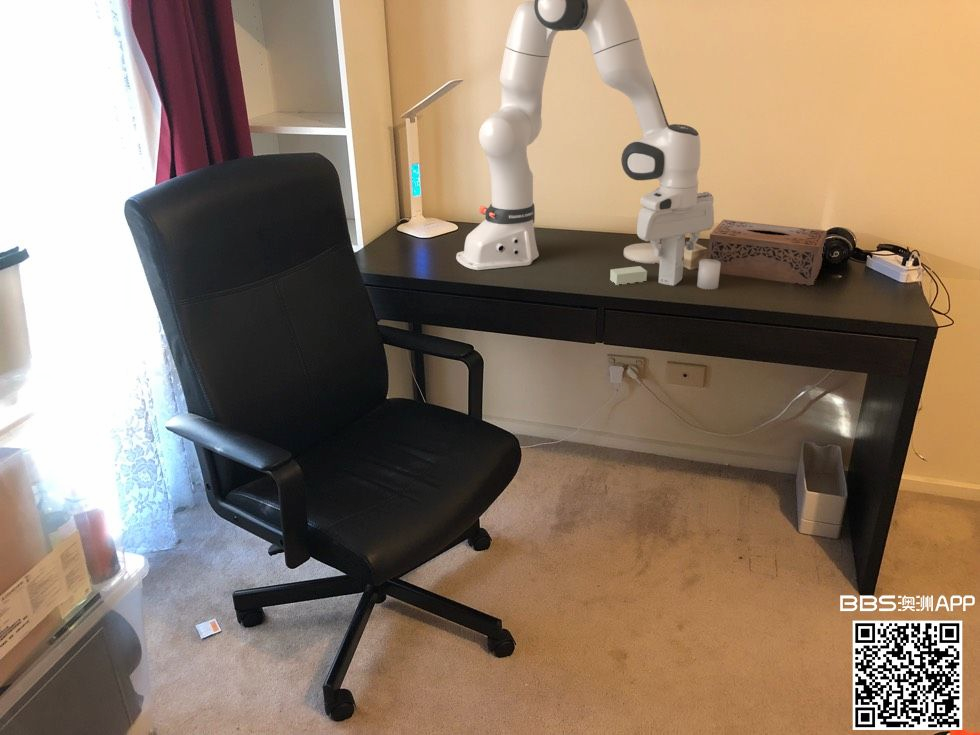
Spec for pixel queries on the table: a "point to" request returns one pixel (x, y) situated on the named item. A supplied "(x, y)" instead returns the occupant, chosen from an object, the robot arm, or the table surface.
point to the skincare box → (672, 260)
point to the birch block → (694, 256)
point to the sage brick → (628, 275)
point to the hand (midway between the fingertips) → (674, 252)
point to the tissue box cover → (767, 251)
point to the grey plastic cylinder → (708, 274)
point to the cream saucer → (641, 253)
